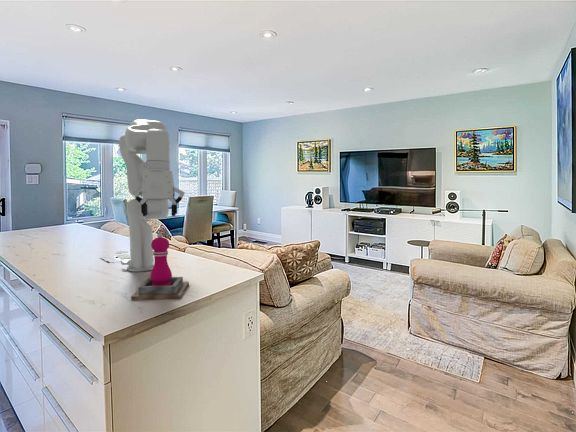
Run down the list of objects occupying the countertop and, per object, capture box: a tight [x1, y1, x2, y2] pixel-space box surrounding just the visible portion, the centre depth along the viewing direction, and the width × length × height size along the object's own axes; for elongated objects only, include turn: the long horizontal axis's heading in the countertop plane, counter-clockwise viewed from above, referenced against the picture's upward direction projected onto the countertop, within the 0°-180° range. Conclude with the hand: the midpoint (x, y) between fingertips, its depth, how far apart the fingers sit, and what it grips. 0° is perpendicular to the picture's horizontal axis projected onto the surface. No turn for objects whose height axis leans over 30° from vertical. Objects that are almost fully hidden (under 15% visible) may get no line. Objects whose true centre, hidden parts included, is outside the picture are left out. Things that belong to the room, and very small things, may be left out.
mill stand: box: [130, 276, 190, 301], centre depth 125 cm, size 16×16×4 cm
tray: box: [114, 250, 155, 261], centre depth 182 cm, size 20×28×4 cm
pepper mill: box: [149, 232, 173, 286], centre depth 124 cm, size 7×7×20 cm
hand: (159, 215), depth 122 cm, fingers open, 9 cm apart
